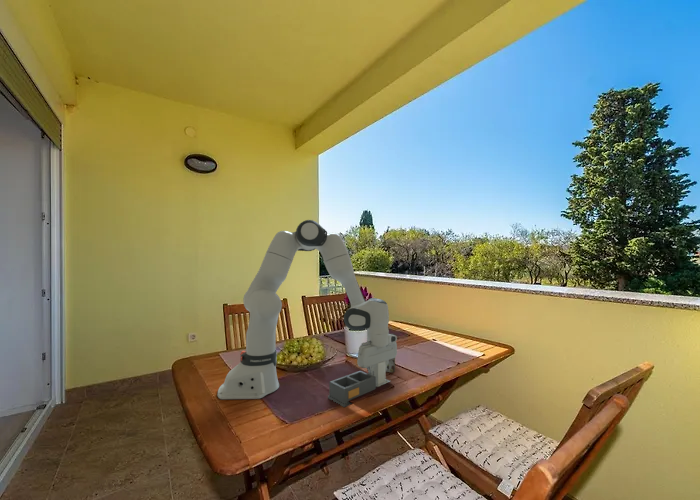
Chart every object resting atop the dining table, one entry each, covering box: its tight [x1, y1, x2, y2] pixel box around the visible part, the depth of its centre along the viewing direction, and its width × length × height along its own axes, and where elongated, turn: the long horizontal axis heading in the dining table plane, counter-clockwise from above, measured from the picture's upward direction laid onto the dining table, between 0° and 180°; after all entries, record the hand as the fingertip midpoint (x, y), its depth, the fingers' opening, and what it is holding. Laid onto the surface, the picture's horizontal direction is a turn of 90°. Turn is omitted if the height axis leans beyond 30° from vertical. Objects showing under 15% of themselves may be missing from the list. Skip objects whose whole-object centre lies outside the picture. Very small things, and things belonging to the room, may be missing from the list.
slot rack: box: [327, 370, 391, 408], centre depth 114 cm, size 26×9×6 cm, turn 133°
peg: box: [371, 361, 387, 384], centre depth 120 cm, size 4×4×8 cm
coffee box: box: [386, 332, 396, 373], centre depth 135 cm, size 9×6×16 cm
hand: (377, 373), depth 120 cm, fingers open, 6 cm apart
